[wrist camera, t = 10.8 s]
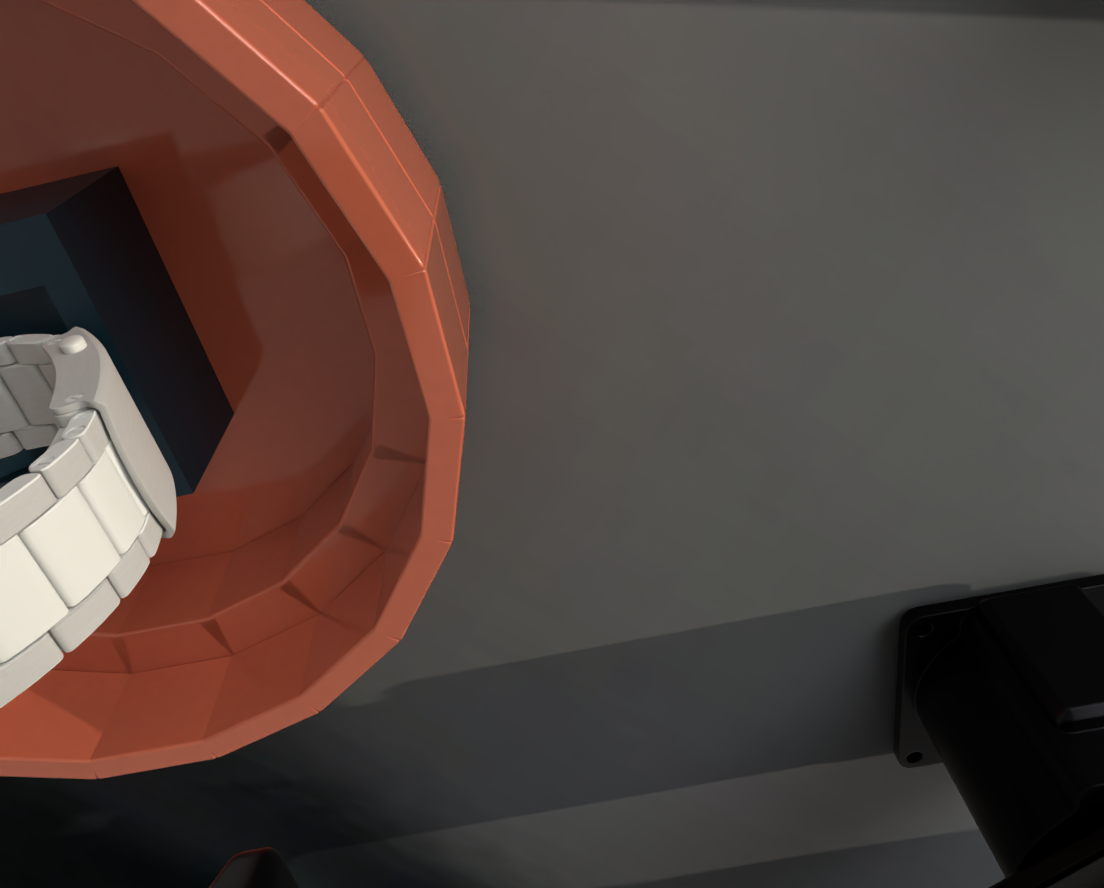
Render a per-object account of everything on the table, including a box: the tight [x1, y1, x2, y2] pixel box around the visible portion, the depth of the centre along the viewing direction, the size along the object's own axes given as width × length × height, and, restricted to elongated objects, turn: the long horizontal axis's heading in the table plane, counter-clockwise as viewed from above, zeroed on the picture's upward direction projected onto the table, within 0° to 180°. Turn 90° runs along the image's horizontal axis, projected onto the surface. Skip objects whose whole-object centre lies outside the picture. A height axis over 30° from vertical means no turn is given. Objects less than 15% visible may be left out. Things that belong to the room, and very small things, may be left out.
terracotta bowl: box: [0, 0, 470, 779], centre depth 16 cm, size 16×16×6 cm
